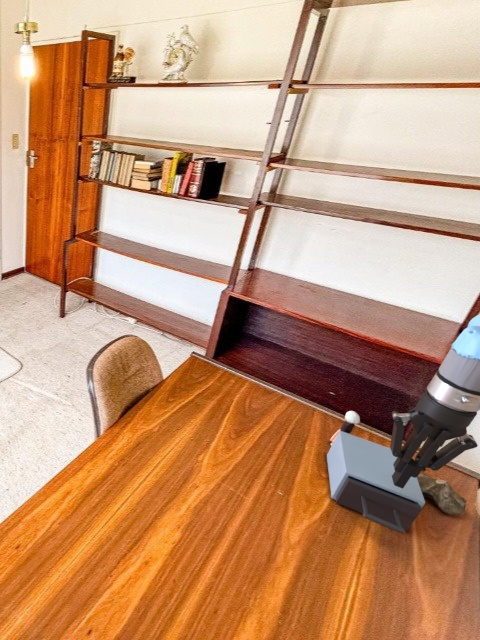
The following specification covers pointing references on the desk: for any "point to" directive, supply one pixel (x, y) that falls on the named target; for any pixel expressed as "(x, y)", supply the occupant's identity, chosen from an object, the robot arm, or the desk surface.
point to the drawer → (379, 504)
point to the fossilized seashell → (441, 494)
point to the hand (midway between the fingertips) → (397, 482)
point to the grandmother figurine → (347, 424)
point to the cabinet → (366, 467)
